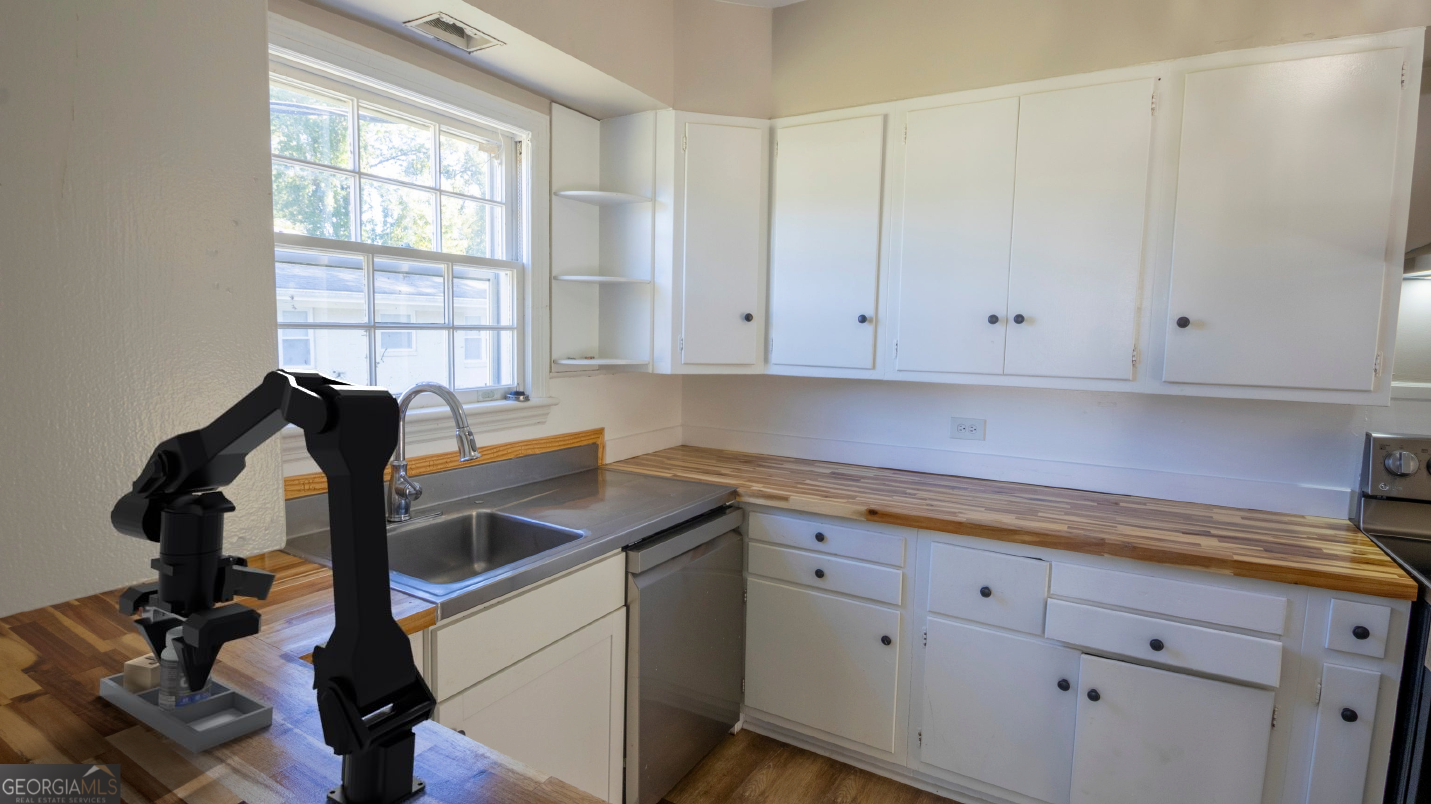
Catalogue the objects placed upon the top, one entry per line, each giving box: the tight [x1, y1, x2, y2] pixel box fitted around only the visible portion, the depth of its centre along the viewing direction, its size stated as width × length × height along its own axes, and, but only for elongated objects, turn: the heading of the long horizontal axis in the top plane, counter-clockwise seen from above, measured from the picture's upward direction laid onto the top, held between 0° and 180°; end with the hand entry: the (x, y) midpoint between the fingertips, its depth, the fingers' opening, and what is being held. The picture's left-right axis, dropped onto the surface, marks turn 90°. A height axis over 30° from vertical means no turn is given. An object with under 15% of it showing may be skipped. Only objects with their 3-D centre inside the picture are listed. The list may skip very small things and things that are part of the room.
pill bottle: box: [159, 626, 213, 711], centre depth 78 cm, size 5×5×8 cm
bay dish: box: [99, 672, 274, 755], centre depth 78 cm, size 22×8×3 cm, turn 62°
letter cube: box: [123, 652, 160, 694], centre depth 82 cm, size 4×4×4 cm
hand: (185, 685), depth 78 cm, fingers closed on pill bottle, 5 cm apart
